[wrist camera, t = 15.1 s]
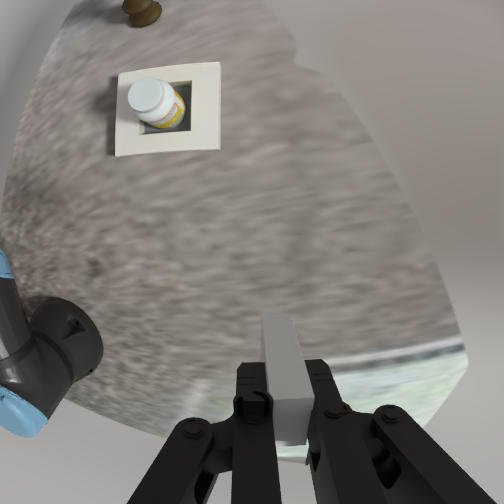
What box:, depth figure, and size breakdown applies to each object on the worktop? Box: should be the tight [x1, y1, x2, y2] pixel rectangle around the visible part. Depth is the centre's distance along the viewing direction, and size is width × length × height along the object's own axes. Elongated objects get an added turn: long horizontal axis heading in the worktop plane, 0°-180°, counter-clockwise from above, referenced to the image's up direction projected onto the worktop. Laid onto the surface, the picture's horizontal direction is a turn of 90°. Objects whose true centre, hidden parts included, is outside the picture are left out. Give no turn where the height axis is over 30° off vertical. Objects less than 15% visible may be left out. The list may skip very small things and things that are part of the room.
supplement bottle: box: [128, 77, 186, 129], centre depth 31 cm, size 5×5×10 cm
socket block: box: [115, 62, 221, 157], centre depth 35 cm, size 14×12×2 cm
